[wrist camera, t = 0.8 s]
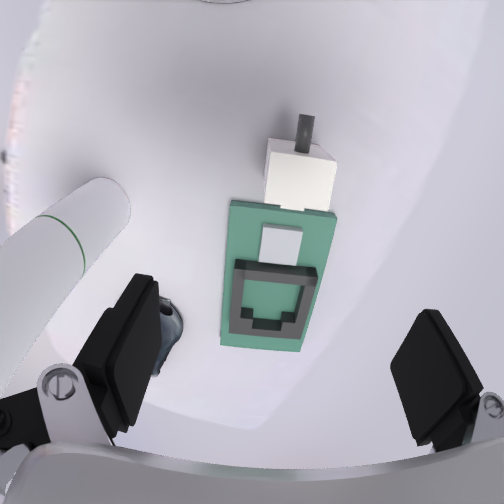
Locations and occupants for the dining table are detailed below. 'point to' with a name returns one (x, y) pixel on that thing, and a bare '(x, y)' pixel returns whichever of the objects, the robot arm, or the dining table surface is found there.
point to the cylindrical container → (53, 263)
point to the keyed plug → (299, 171)
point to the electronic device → (167, 336)
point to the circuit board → (272, 274)
